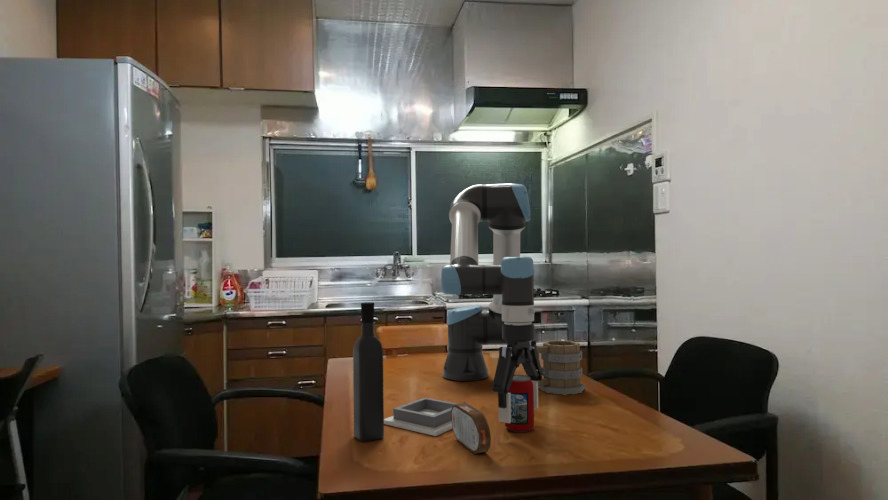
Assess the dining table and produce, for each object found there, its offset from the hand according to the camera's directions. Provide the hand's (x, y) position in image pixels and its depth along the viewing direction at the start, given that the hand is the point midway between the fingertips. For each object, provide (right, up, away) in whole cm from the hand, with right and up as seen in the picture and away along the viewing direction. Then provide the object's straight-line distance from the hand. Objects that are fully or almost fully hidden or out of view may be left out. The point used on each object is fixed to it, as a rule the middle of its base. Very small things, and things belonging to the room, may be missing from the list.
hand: (519, 414), depth 124 cm
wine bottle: (-34, -4, -5) cm, 35 cm away
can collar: (-21, -4, +7) cm, 22 cm away
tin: (-12, -4, -11) cm, 17 cm away
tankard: (+14, -4, +35) cm, 38 cm away
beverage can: (0, -4, 0) cm, 4 cm away
